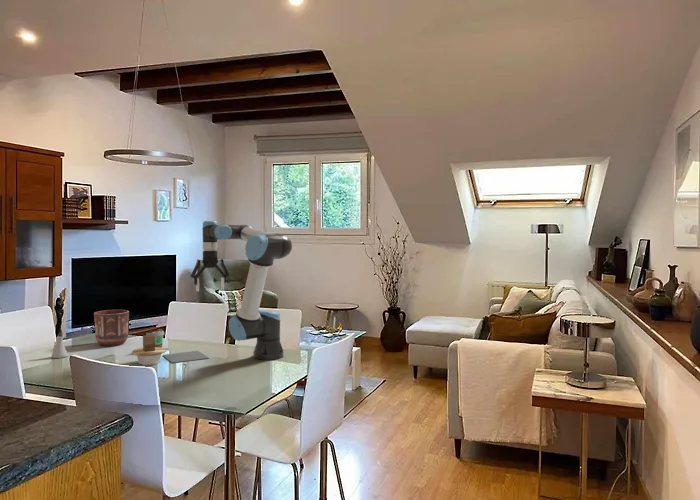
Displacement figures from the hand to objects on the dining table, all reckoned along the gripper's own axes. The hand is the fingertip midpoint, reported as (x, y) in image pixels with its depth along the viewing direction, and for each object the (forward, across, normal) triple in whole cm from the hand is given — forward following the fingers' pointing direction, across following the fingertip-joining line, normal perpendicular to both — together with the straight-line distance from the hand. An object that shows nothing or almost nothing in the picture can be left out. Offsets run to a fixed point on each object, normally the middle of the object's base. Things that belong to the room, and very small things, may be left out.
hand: (210, 290), depth 287 cm
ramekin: (+32, +34, +12) cm, 48 cm away
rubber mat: (+32, +16, +10) cm, 37 cm away
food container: (+32, +24, -14) cm, 42 cm away
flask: (+32, +69, -23) cm, 79 cm away
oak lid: (+27, +34, +12) cm, 45 cm away
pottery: (+32, +42, -42) cm, 67 cm away
